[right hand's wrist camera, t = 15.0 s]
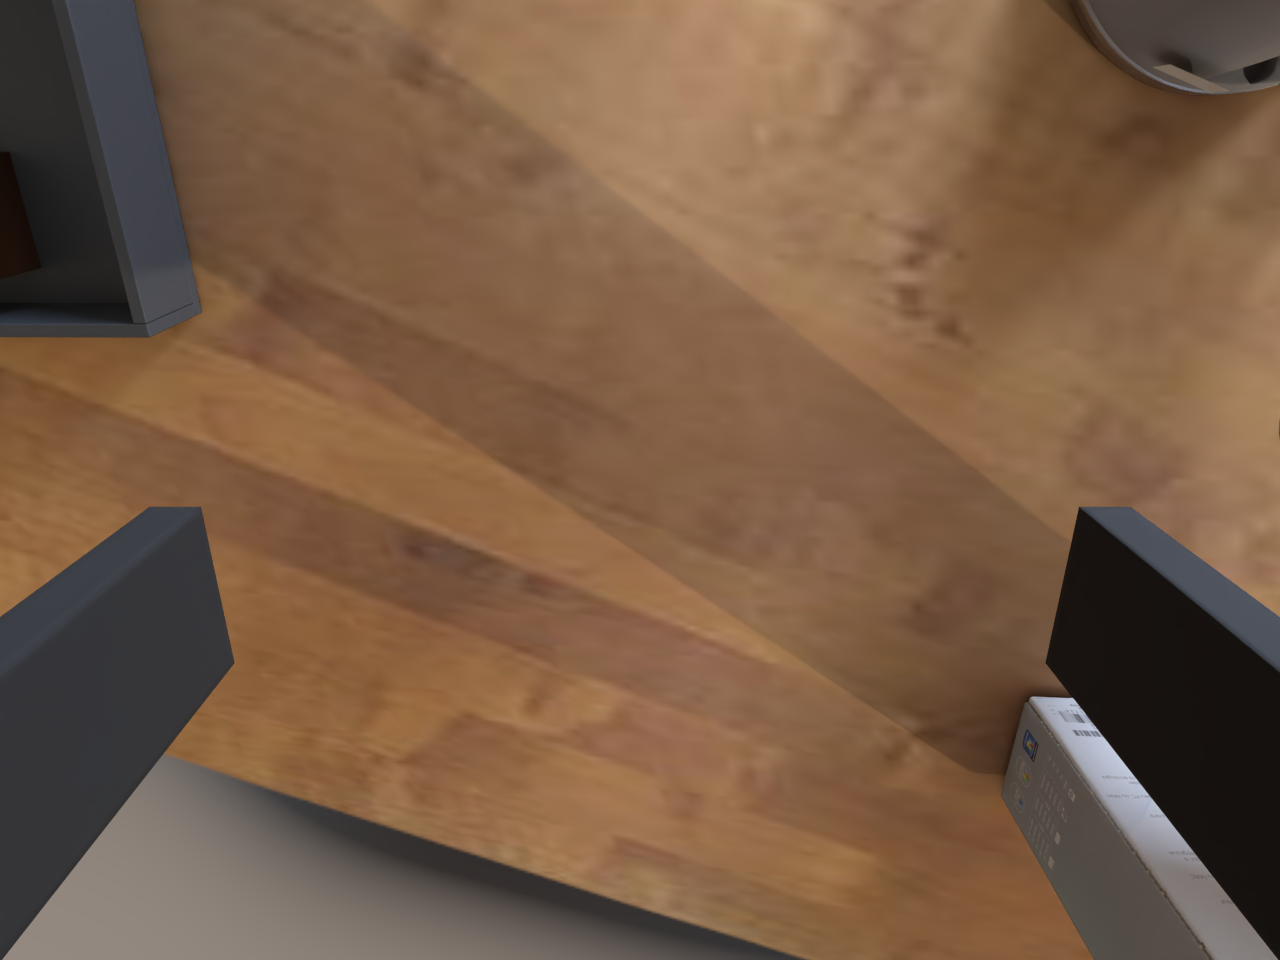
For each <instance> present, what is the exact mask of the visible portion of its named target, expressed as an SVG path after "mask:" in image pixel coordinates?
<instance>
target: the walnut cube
mask: <svg viewBox="0 0 1280 960" xmlns="http://www.w3.org/2000/svg"><path fill="white" fill-rule="evenodd" d="M40 268H41V264H40V260H39V257H38V253H37V249H36V246H35V242H34V239H33V235H32V231H31V228H30V224H29V221H28V217H27V213H26V210H25V206H24V203H23V199H22V195H21V192H20V188H19V185H18V181H17V178H16V174H15V170H14V167H13V163H12V160H11V156H10V153H9V152H8V151H0V279H3V278H7V277H11V276H14V275H18V274H22V273H25V272H29V271H32V270H36V269H40Z"/></svg>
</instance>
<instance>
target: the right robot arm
mask: <svg viewBox="0 0 1280 960" xmlns="http://www.w3.org/2000/svg"><path fill="white" fill-rule="evenodd" d="M1070 2H1071V4H1072V6H1073V9H1074V11H1075V13H1076V15H1077V18H1078V20H1079V21H1080V23H1081V25H1082V26H1083V28H1084V30H1085V32H1086V33H1087V35H1088V36H1089V37H1090V39H1091V40H1092V41H1093V43H1094V44H1095V45H1096V47H1097V48H1098V49H1099V50H1100V51H1101V52H1102V53H1103V54H1104V55H1105V56H1106V57H1107V58H1108V59H1109V60H1110V61H1111V62H1112V63H1113V64H1115V65H1116V66H1117V67H1118V68H1120V69H1121V70H1122V71H1124V72H1125V73H1127V74H1129V75H1130V76H1132V77H1133V78H1135V79H1137V80H1139V81H1141V82H1143V83H1145V84H1148V85H1150V86H1153V87H1156V88H1159V89H1162V90H1165V91H1169V92H1174V93H1179V94H1187V95H1222V94H1234V93H1242V92H1250V91H1256V90H1260V89H1264V88H1269V87H1273V86H1276V85H1279V84H1280V0H1070ZM1279 438H1280V421H1279ZM233 664H234V659H233V654H232V649H231V645H230V640H229V635H228V631H227V626H226V621H225V617H224V612H223V608H222V603H221V598H220V594H219V589H218V584H217V580H216V575H215V570H214V566H213V561H212V556H211V552H210V547H209V542H208V538H207V533H206V529H205V524H204V519H203V515H202V510H201V507H149V508H148V509H146V510H145V511H143V512H142V513H141V514H139V515H138V516H137V517H135V518H134V519H133V520H131V521H130V522H129V523H127V524H126V525H125V526H123V527H122V528H120V529H119V530H118V531H116V532H115V533H114V534H112V535H111V536H110V537H108V538H107V539H106V540H104V541H103V542H101V543H100V544H99V545H97V546H96V547H95V548H93V549H92V550H91V551H89V552H88V553H87V554H85V555H84V556H82V557H81V558H80V559H78V560H77V561H76V562H74V563H73V564H72V565H70V566H69V567H68V568H66V569H65V570H63V571H62V572H61V573H59V574H58V575H57V576H55V577H54V578H53V579H51V580H50V581H49V582H47V583H46V584H45V585H43V586H42V587H40V588H39V589H38V590H36V591H35V592H34V593H32V594H31V595H30V596H28V597H27V598H26V599H24V600H23V601H21V602H20V603H19V604H17V605H16V606H15V607H13V608H12V609H11V610H9V611H8V612H7V613H5V614H4V615H2V616H1V617H0V960H2V959H3V958H4V956H5V955H6V954H7V953H8V951H9V950H10V949H11V948H12V946H13V945H14V944H15V942H16V941H17V940H18V939H19V937H20V936H21V935H22V934H23V932H24V931H25V930H26V928H27V927H28V926H29V925H30V923H31V922H32V921H33V919H34V918H35V917H36V916H37V914H38V913H39V912H40V910H41V909H42V908H43V907H44V905H45V904H46V903H47V901H48V900H49V899H50V898H51V896H52V895H53V894H54V893H55V891H56V890H57V889H58V888H59V886H60V885H61V884H62V882H63V881H64V880H65V879H66V877H67V876H68V875H69V873H70V872H71V871H72V870H73V868H74V867H75V866H76V865H77V863H78V862H79V861H80V859H81V858H82V857H83V856H84V854H85V853H86V852H87V851H88V849H89V848H90V847H91V845H92V844H93V843H94V842H95V840H96V839H97V838H98V836H99V835H100V834H101V833H102V831H103V830H104V829H105V828H106V826H107V825H108V824H109V822H110V821H111V820H112V819H113V817H114V816H115V815H116V813H117V812H118V811H119V810H120V808H121V807H122V806H123V805H124V803H125V802H126V801H127V799H128V798H129V797H130V796H131V794H132V793H133V792H134V791H135V789H136V788H137V787H138V785H139V784H140V783H141V782H142V780H143V779H144V778H145V776H146V775H147V774H148V773H149V771H150V770H151V769H152V768H153V766H154V765H155V764H156V762H157V761H158V760H159V759H160V757H161V756H162V755H163V754H164V752H165V751H166V750H167V748H168V747H169V746H170V745H171V743H172V742H173V741H174V739H175V738H176V737H177V736H178V734H179V733H180V732H181V731H182V729H183V728H184V727H185V725H186V724H187V723H188V722H189V720H190V719H191V718H192V717H193V715H194V714H195V713H196V711H197V710H198V709H199V708H200V706H201V705H202V704H203V702H204V701H205V700H206V699H207V697H208V696H209V695H210V694H211V692H212V691H213V690H214V688H215V687H216V686H217V685H218V683H219V682H220V681H221V680H222V678H223V677H224V676H225V674H226V673H227V672H228V671H229V669H230V668H231V667H232V665H233ZM1046 664H1047V665H1048V667H1049V668H1050V669H1051V671H1052V672H1053V673H1054V674H1055V676H1056V677H1057V678H1058V680H1059V681H1060V682H1061V683H1062V685H1063V686H1064V687H1065V688H1066V690H1067V691H1068V692H1069V694H1070V695H1071V696H1072V697H1073V699H1074V700H1075V701H1076V702H1077V704H1078V705H1079V706H1080V708H1081V709H1082V710H1083V711H1084V713H1085V714H1086V715H1087V717H1088V718H1089V719H1090V720H1091V722H1092V723H1093V724H1094V725H1095V727H1096V728H1097V729H1098V731H1099V732H1100V733H1101V734H1102V736H1103V737H1104V738H1105V739H1106V741H1107V742H1108V743H1109V745H1110V746H1111V747H1112V748H1113V750H1114V751H1115V752H1116V754H1117V755H1118V756H1119V757H1120V759H1121V760H1122V761H1123V762H1124V764H1125V765H1126V766H1127V768H1128V769H1129V770H1130V771H1131V773H1132V774H1133V775H1134V777H1135V778H1136V779H1137V780H1138V782H1139V783H1140V784H1141V785H1142V787H1143V788H1144V789H1145V791H1146V792H1147V793H1148V794H1149V796H1150V797H1151V798H1152V799H1153V801H1154V802H1155V803H1156V805H1157V806H1158V807H1159V808H1160V810H1161V811H1162V812H1163V814H1164V815H1165V816H1166V817H1167V819H1168V820H1169V821H1170V822H1171V824H1172V825H1173V826H1174V828H1175V829H1176V830H1177V831H1178V833H1179V834H1180V835H1181V836H1182V838H1183V839H1184V840H1185V842H1186V843H1187V844H1188V845H1189V847H1190V848H1191V849H1192V851H1193V852H1194V853H1195V854H1196V856H1197V857H1198V858H1199V859H1200V861H1201V862H1202V863H1203V865H1204V866H1205V867H1206V868H1207V870H1208V871H1209V872H1210V874H1211V875H1212V876H1213V877H1214V879H1215V880H1216V881H1217V882H1218V884H1219V885H1220V886H1221V888H1222V889H1223V890H1224V891H1225V893H1226V894H1227V895H1228V896H1229V898H1230V899H1231V900H1232V902H1233V903H1234V904H1235V905H1236V907H1237V908H1238V909H1239V911H1240V912H1241V913H1242V914H1243V916H1244V917H1245V918H1246V919H1247V921H1248V922H1249V923H1250V925H1251V926H1252V927H1253V928H1254V930H1255V931H1256V932H1257V934H1258V935H1259V936H1260V937H1261V939H1262V940H1263V941H1264V942H1265V944H1266V945H1267V946H1268V948H1269V949H1270V950H1271V951H1272V953H1273V954H1274V955H1275V956H1276V958H1277V959H1278V960H1280V617H1279V616H1278V615H1276V614H1275V613H1273V612H1272V611H1271V610H1269V609H1268V608H1267V607H1265V606H1264V605H1263V604H1261V603H1260V602H1259V601H1257V600H1256V599H1254V598H1253V597H1252V596H1250V595H1249V594H1248V593H1246V592H1245V591H1244V590H1242V589H1241V588H1240V587H1238V586H1237V585H1235V584H1234V583H1233V582H1231V581H1230V580H1229V579H1227V578H1226V577H1225V576H1223V575H1222V574H1221V573H1219V572H1218V571H1217V570H1215V569H1214V568H1212V567H1211V566H1210V565H1208V564H1207V563H1206V562H1204V561H1203V560H1202V559H1200V558H1199V557H1198V556H1196V555H1195V554H1193V553H1192V552H1191V551H1189V550H1188V549H1187V548H1185V547H1184V546H1183V545H1181V544H1180V543H1179V542H1177V541H1176V540H1174V539H1173V538H1172V537H1170V536H1169V535H1168V534H1166V533H1165V532H1164V531H1162V530H1161V529H1160V528H1158V527H1157V526H1155V525H1154V524H1153V523H1151V522H1150V521H1149V520H1147V519H1146V518H1145V517H1143V516H1142V515H1141V514H1139V513H1138V512H1137V511H1135V510H1134V509H1132V508H1131V507H1079V510H1078V515H1077V519H1076V524H1075V529H1074V533H1073V538H1072V542H1071V547H1070V552H1069V556H1068V561H1067V566H1066V570H1065V575H1064V580H1063V584H1062V589H1061V594H1060V598H1059V603H1058V608H1057V612H1056V617H1055V621H1054V626H1053V631H1052V635H1051V640H1050V645H1049V649H1048V654H1047V659H1046Z"/></svg>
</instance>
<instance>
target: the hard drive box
mask: <svg viewBox="0 0 1280 960" xmlns="http://www.w3.org/2000/svg"><path fill="white" fill-rule="evenodd" d="M1001 797H1002V799H1003V800H1004V802H1005V804H1006V806H1007V807H1008V809H1009V811H1010V813H1011V814H1012V816H1013V818H1014V820H1015V821H1016V823H1017V825H1018V826H1019V828H1020V830H1021V832H1022V833H1023V835H1024V837H1025V839H1026V840H1027V842H1028V844H1029V846H1030V847H1031V849H1032V851H1033V853H1034V855H1035V856H1036V858H1037V860H1038V862H1039V864H1040V865H1041V867H1042V869H1043V870H1044V872H1045V874H1046V876H1047V877H1048V879H1049V881H1050V882H1051V884H1052V886H1053V888H1054V890H1055V892H1056V893H1057V895H1058V897H1059V899H1060V900H1061V902H1062V904H1063V906H1064V907H1065V909H1066V911H1067V913H1068V915H1069V916H1070V918H1071V920H1072V922H1073V924H1074V925H1075V927H1076V929H1077V931H1078V932H1079V934H1080V936H1081V938H1082V939H1083V941H1084V943H1085V945H1086V946H1087V948H1088V950H1089V952H1090V953H1091V955H1092V957H1093V959H1094V960H1278V959H1277V958H1276V956H1275V955H1274V954H1273V953H1272V951H1271V950H1270V949H1269V948H1268V946H1267V945H1266V944H1265V942H1264V941H1263V940H1262V939H1261V937H1260V936H1259V935H1258V934H1257V932H1256V931H1255V930H1254V928H1253V927H1252V926H1251V925H1250V923H1249V922H1248V921H1247V919H1246V918H1245V917H1244V916H1243V914H1242V913H1241V912H1240V911H1239V909H1238V908H1237V907H1236V905H1235V904H1234V903H1233V902H1232V900H1231V899H1230V898H1229V896H1228V895H1227V894H1226V893H1225V891H1224V890H1223V889H1222V888H1221V886H1220V885H1219V884H1218V882H1217V881H1216V880H1215V879H1214V877H1213V876H1212V875H1211V874H1210V872H1209V871H1208V870H1207V868H1206V867H1205V866H1204V865H1203V863H1202V862H1201V861H1200V859H1199V858H1198V857H1197V856H1196V854H1195V853H1194V852H1193V851H1192V849H1191V848H1190V847H1189V845H1188V844H1187V843H1186V842H1185V840H1184V839H1183V838H1182V836H1181V835H1180V834H1179V833H1178V831H1177V830H1176V829H1175V828H1174V826H1173V825H1172V824H1171V822H1170V821H1169V820H1168V819H1167V817H1166V816H1165V815H1164V814H1163V812H1162V811H1161V810H1160V808H1159V807H1158V806H1157V805H1156V803H1155V802H1154V801H1153V799H1152V798H1151V797H1150V796H1149V794H1148V793H1147V792H1146V791H1145V789H1144V788H1143V787H1142V785H1141V784H1140V783H1139V782H1138V780H1137V779H1136V778H1135V777H1134V775H1133V774H1132V773H1131V771H1130V770H1129V769H1128V768H1127V766H1126V765H1125V764H1124V762H1123V761H1122V760H1121V759H1120V757H1119V756H1118V755H1117V754H1116V752H1115V751H1114V750H1113V748H1112V747H1111V746H1110V745H1109V743H1108V742H1107V741H1106V739H1105V738H1104V737H1103V736H1102V734H1101V733H1100V732H1099V731H1098V729H1097V728H1096V727H1095V725H1094V724H1093V723H1092V722H1091V720H1090V719H1089V718H1088V717H1087V715H1086V714H1085V713H1084V711H1083V710H1082V709H1081V708H1080V706H1079V705H1078V704H1077V702H1076V701H1075V700H1074V699H1073V698H1056V697H1030V699H1029V701H1028V702H1025V704H1024V708H1023V712H1022V715H1021V719H1020V723H1019V727H1018V730H1017V734H1016V738H1015V742H1014V746H1013V750H1012V753H1011V757H1010V761H1009V765H1008V769H1007V772H1006V776H1005V780H1004V784H1003V788H1002V793H1001Z"/></svg>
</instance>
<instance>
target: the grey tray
mask: <svg viewBox="0 0 1280 960" xmlns="http://www.w3.org/2000/svg"><path fill="white" fill-rule="evenodd" d="M0 151H8V152H9V153H10V156H11V160H12V163H13V167H14V170H15V174H16V178H17V181H18V185H19V188H20V192H21V195H22V199H23V203H24V206H25V210H26V213H27V217H28V221H29V224H30V228H31V231H32V235H33V239H34V242H35V246H36V249H37V253H38V257H39V260H40V264H41V268H40V269H36V270H32V271H29V272H25V273H22V274H18V275H14V276H11V277H7V278H3V279H0V337H152V336H154V335H156V334H158V333H160V332H162V331H164V330H166V329H168V328H170V327H173V326H175V325H177V324H179V323H181V322H183V321H185V320H187V319H189V318H191V317H194V316H195V315H198V314H200V313H201V312H202V311H201V306H200V302H199V297H198V292H197V288H196V283H195V279H194V274H193V270H192V265H191V260H190V256H189V251H188V247H187V242H186V238H185V233H184V229H183V224H182V219H181V215H180V210H179V206H178V201H177V197H176V192H175V187H174V183H173V178H172V174H171V169H170V165H169V160H168V156H167V151H166V146H165V142H164V137H163V133H162V128H161V124H160V119H159V114H158V110H157V105H156V101H155V96H154V92H153V87H152V82H151V78H150V73H149V69H148V64H147V60H146V55H145V51H144V46H143V41H142V37H141V32H140V28H139V23H138V19H137V14H136V9H135V5H134V0H0Z"/></svg>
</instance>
